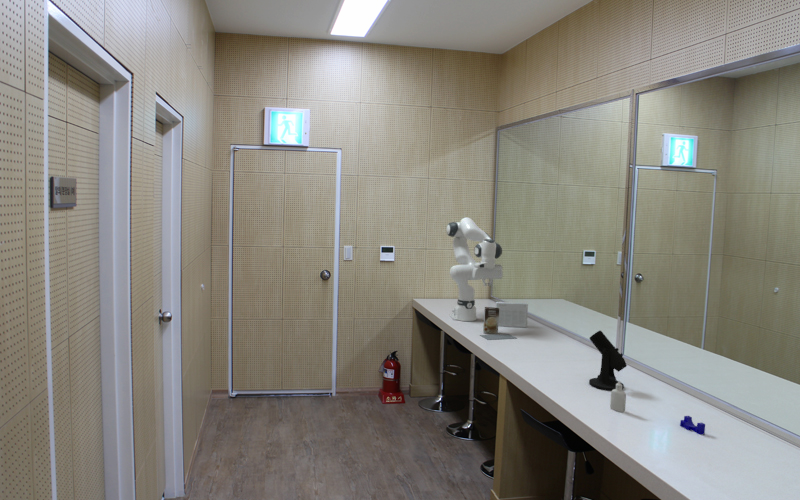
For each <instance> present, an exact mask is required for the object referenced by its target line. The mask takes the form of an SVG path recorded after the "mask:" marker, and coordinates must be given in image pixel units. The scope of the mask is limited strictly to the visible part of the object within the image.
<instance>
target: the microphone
mask: <svg viewBox="0 0 800 500" xmlns="http://www.w3.org/2000/svg"><path fill="white" fill-rule="evenodd" d="M589 340H590V342H591V343H592V344H593V345H594V346H595V348H596V349H597V350H598V352H599V353H600V354H601V364H600V372H599V374H597V377H593V378H589V381H588V383H589V385H590V387H592V388H594V389H597V390H601V391H607V392H611V391H612V390H613V389H616V384H617V383H618V381H619V380H617V377H616V375H615V370H616V371H617V372H620V371H622V370H623V369H625V368H626V367H628V365H627V363H626V360H625V358H624V357H623V356H624V354H623V353H622V352H621V353H620V352H619V350H620V349H619V347H615V346H614V345H613V343H612V342H611V341H610V340H609V338H608V337H607V336H606V335H605V334H604V332H603V331H602V330H598V331H596V332H595V333H593V334H592V335H590V337H589ZM621 384H622V391H624V388H625V385H624V384H623V383H622V382H621Z"/></svg>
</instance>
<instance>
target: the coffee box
mask: <svg viewBox="0 0 800 500" xmlns="http://www.w3.org/2000/svg"><path fill="white" fill-rule="evenodd" d="M483 313H484V314H483V325H482V326H483V327H482V328H483V329H482V332H483V334H485V335H492V334H499V326H498V323H499V308H496V307H493V306H484V312H483Z"/></svg>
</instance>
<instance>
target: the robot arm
mask: <svg viewBox="0 0 800 500" xmlns="http://www.w3.org/2000/svg"><path fill="white" fill-rule="evenodd" d="M445 231H446V235H447V236H448V237H452V238H453V240H452V248H453V254H454V257H455V260H456V262H457V263H458V264H456V265H455V264H454V265H453V266H451V268H450V269H449V276H450V278H451V279H452V280H454V282H455V283H456V284H457V288H458V299H457V302H456V305H455V306H453V308H452V310H451V312H452V313H450V314H449V317H450V318H451V319H452V320H455V321H459V322H460V321H462V322H474V321H476V320H478V319H479V317H478V316H477V307H476V306H475V305H476V302H475V301H476V300H475V288H474V287H473V286H472V285H470V284H469V283H468V281H478V280H481V281H482V283H483V286H484V287H486V286H489V287H491V286H492V282H493V281H494V280H501V279H503V277H504V276H503V265H502V264H496V260H497V259H499V258H500V257H501V255H502V254H503V247H502V246H501V244H499V243H498V242H497V241H495V240H494V239H493V238H492V237H491V236H490V235H489V233H487V232H486V231H484V230H483V229H481V228H480V227H479V226H478V225H477V224H476V223H475V221H474V220H473V219H471V217H467V216H466V217H463V218H461V220H460V221H457V222H456V221H452V222H448V223H447V226H446V230H445ZM468 240H469V241H471V242H472V241H473V242H480V243H477V244H476V245H475V246H474V248H473V252H474V253H473V254H474V255H475V257H476V258H479V259H480V261H479V262H477V261H476V260H475V259H474V258H473V256H472V254H471V251H470V247H469V244H468ZM486 280H489V281H488V283H487V282H486Z"/></svg>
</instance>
